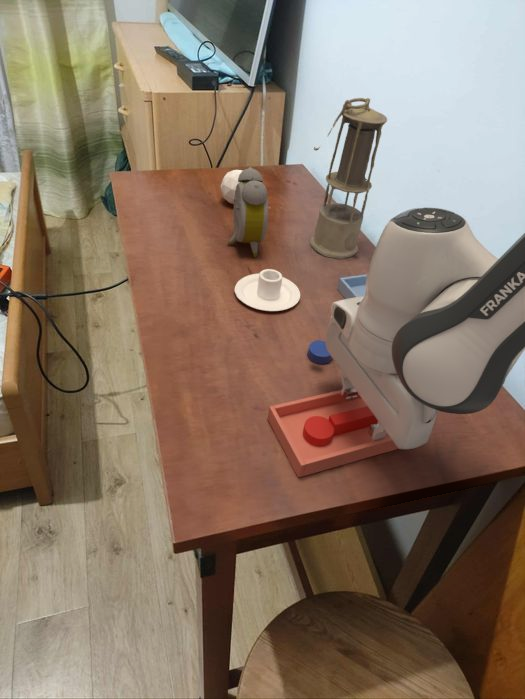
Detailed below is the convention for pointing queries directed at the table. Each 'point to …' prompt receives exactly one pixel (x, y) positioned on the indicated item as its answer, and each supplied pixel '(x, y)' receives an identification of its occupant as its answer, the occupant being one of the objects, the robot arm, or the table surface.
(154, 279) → the table surface
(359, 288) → the blue tray
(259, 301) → the candle holder
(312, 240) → the lamp
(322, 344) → the blue spoon
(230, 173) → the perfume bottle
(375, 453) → the red tray
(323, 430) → the red spoon
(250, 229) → the alarm clock
